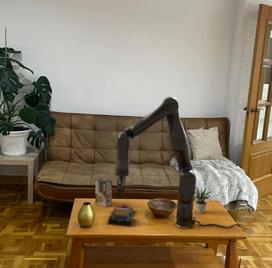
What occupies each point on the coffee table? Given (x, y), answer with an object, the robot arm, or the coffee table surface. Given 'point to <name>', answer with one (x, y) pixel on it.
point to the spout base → (120, 220)
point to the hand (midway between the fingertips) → (121, 194)
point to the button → (123, 205)
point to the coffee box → (103, 192)
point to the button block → (126, 208)
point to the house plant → (201, 201)
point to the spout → (121, 212)
